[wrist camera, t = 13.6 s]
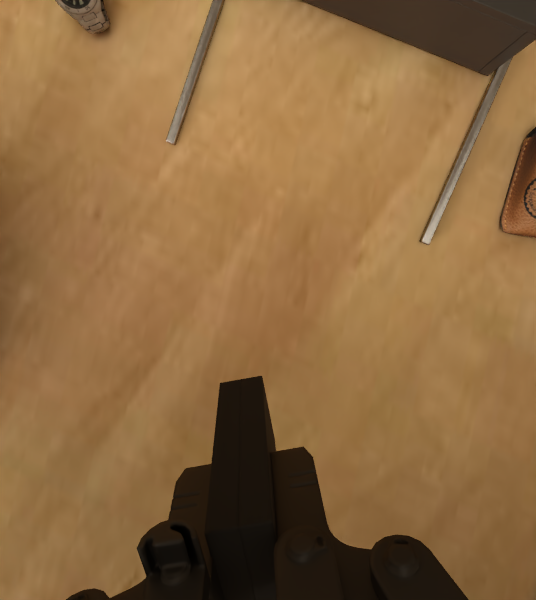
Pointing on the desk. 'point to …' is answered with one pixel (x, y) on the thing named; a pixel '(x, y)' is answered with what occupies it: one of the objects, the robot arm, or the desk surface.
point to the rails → (455, 170)
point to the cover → (449, 26)
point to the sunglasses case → (522, 192)
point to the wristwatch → (87, 13)
